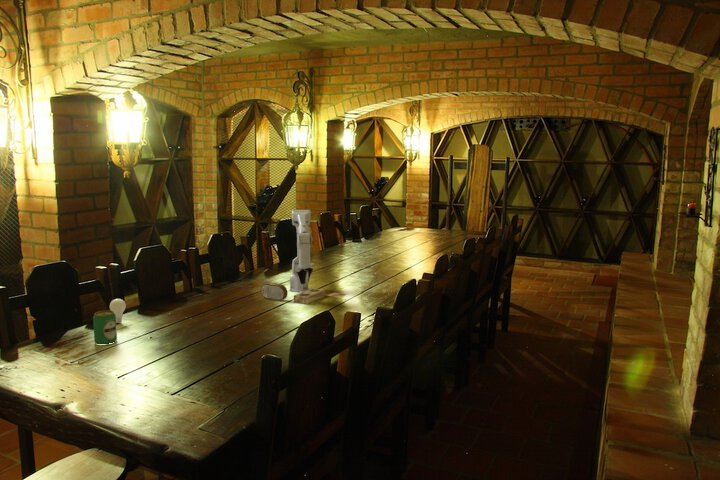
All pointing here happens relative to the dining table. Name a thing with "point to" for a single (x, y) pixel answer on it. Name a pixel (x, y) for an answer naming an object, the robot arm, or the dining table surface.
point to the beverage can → (104, 327)
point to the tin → (274, 291)
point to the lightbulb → (118, 309)
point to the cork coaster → (337, 295)
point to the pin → (305, 286)
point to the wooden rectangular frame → (309, 296)
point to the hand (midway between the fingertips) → (304, 283)
